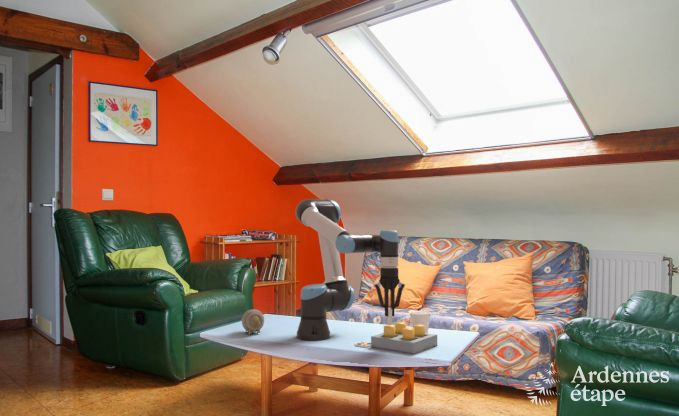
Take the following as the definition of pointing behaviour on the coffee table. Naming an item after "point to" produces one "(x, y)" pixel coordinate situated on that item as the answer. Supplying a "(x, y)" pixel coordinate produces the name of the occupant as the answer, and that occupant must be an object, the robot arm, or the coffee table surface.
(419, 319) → the cup
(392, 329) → the button
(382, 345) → the board
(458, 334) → the coffee table surface
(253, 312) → the toy sheep
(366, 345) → the pattern tile
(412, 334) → the button
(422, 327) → the button
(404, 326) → the button
